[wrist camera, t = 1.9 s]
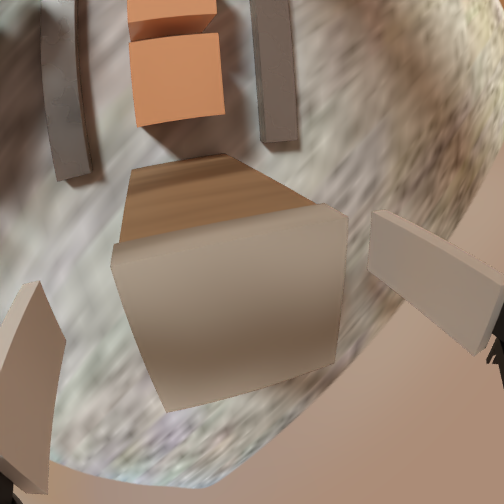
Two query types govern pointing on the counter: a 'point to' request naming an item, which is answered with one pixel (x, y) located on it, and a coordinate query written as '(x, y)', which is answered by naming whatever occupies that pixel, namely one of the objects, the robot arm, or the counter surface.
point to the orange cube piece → (168, 17)
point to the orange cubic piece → (176, 78)
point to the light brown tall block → (227, 279)
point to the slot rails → (70, 94)
